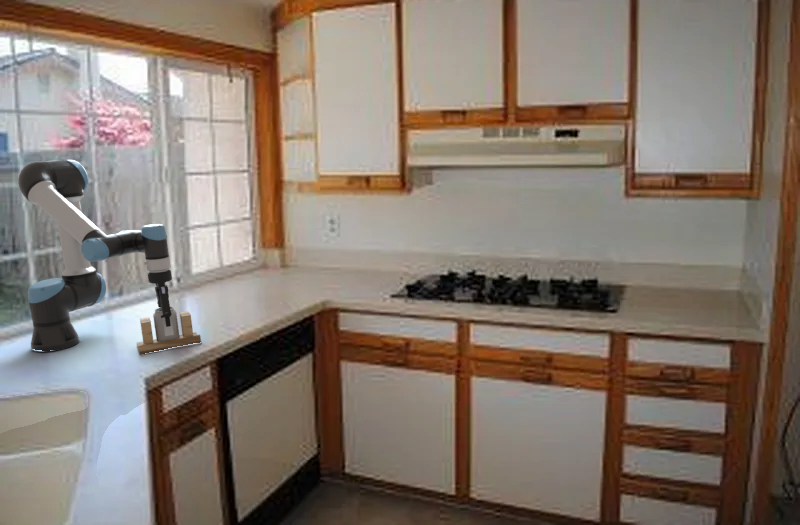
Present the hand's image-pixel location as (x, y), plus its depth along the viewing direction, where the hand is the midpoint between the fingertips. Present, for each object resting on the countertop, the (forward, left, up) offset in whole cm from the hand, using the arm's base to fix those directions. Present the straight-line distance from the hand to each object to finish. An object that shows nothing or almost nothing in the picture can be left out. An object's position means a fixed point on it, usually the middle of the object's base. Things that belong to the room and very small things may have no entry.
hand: (167, 330), depth 222 cm
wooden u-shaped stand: (0, 0, -5) cm, 5 cm away
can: (0, 0, -4) cm, 4 cm away
